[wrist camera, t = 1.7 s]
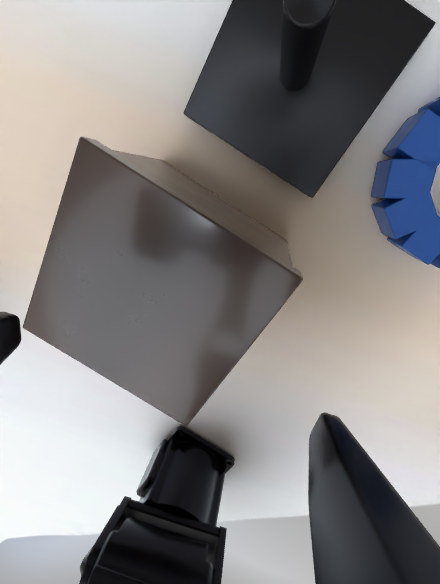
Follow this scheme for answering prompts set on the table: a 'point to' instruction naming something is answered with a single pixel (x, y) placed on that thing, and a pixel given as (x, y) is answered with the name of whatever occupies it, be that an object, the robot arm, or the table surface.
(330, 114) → the peg stand
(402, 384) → the table surface
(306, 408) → the table surface
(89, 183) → the box
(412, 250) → the ring
